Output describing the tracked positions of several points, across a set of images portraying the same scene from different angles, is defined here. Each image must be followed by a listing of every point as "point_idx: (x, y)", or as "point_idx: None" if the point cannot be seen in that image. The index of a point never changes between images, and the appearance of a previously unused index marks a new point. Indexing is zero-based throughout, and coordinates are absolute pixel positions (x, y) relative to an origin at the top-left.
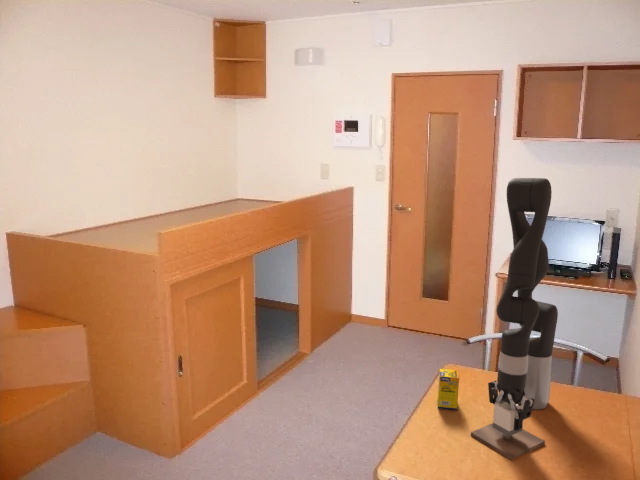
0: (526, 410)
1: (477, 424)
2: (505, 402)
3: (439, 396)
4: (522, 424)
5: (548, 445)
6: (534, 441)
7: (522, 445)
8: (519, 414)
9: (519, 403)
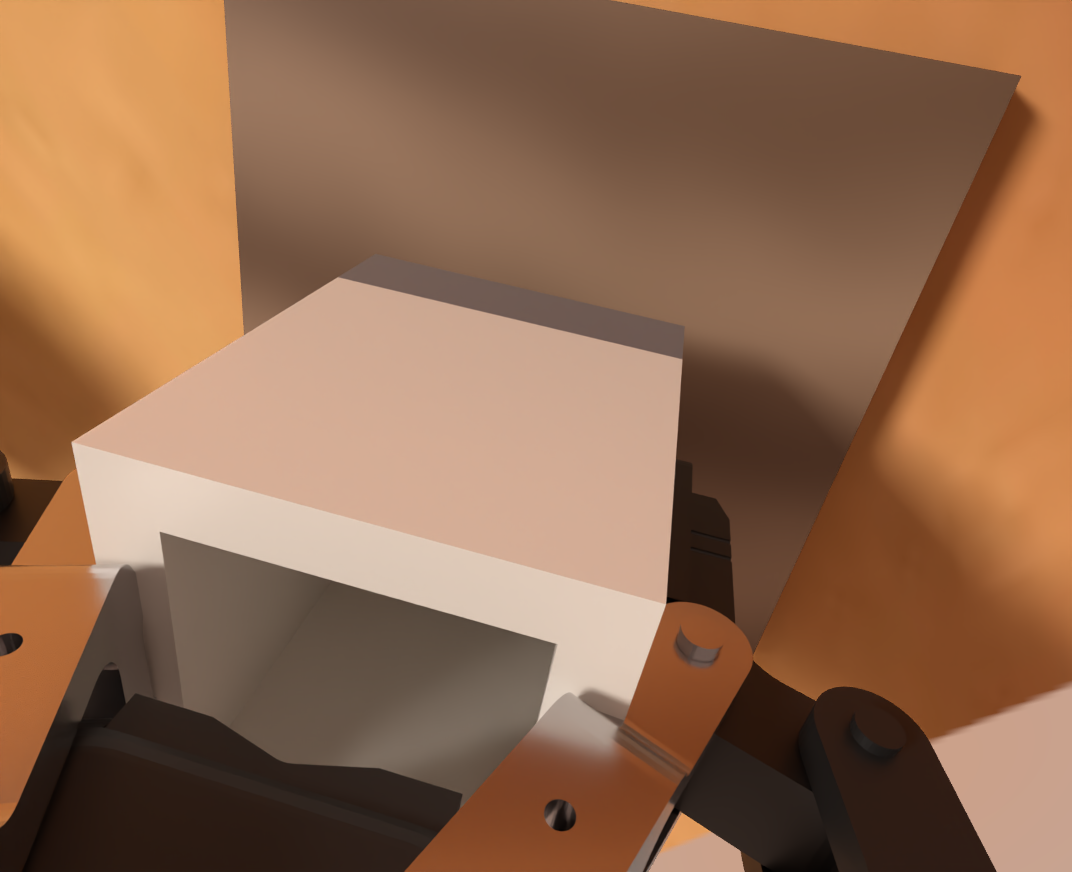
0: None
1: (153, 282)
2: (181, 610)
3: None
4: (678, 379)
5: (1065, 55)
6: (868, 227)
7: (761, 425)
8: (688, 815)
9: (538, 833)
